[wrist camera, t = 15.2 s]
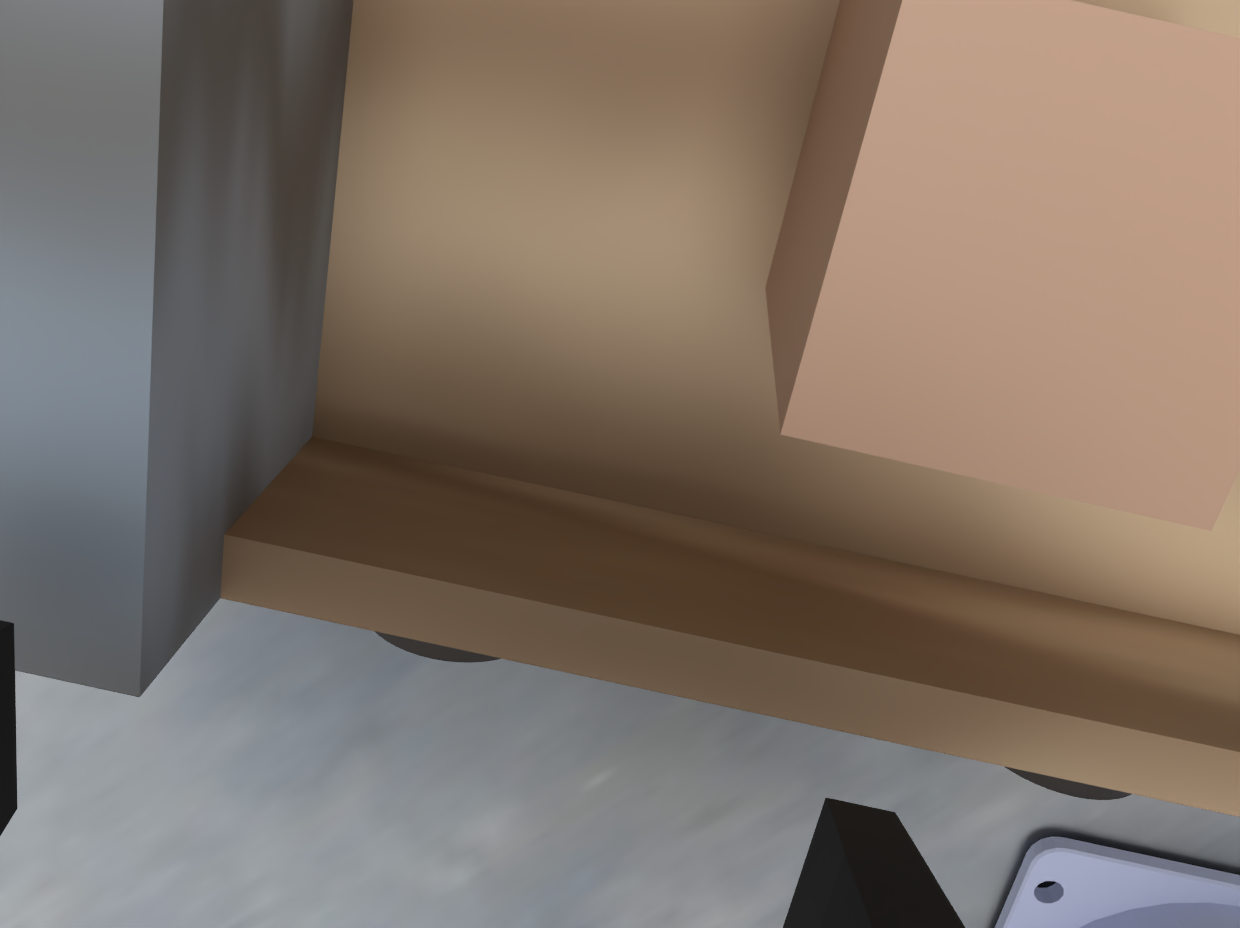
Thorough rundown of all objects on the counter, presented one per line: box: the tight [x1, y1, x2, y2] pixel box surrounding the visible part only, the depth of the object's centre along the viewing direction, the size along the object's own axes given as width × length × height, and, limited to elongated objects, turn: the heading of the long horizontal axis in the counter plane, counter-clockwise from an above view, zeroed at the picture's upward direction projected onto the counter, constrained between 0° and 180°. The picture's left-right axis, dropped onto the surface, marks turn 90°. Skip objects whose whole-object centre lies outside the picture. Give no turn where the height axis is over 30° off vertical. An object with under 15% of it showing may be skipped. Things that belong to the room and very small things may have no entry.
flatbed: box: [0, 0, 1240, 817], centre depth 14 cm, size 16×20×7 cm
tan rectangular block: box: [765, 0, 1240, 531], centre depth 14 cm, size 4×4×6 cm
